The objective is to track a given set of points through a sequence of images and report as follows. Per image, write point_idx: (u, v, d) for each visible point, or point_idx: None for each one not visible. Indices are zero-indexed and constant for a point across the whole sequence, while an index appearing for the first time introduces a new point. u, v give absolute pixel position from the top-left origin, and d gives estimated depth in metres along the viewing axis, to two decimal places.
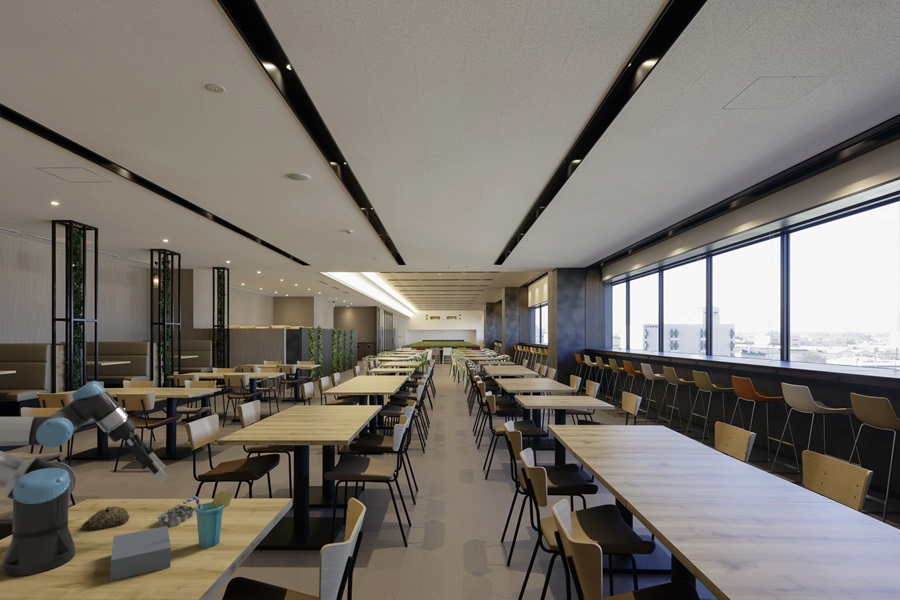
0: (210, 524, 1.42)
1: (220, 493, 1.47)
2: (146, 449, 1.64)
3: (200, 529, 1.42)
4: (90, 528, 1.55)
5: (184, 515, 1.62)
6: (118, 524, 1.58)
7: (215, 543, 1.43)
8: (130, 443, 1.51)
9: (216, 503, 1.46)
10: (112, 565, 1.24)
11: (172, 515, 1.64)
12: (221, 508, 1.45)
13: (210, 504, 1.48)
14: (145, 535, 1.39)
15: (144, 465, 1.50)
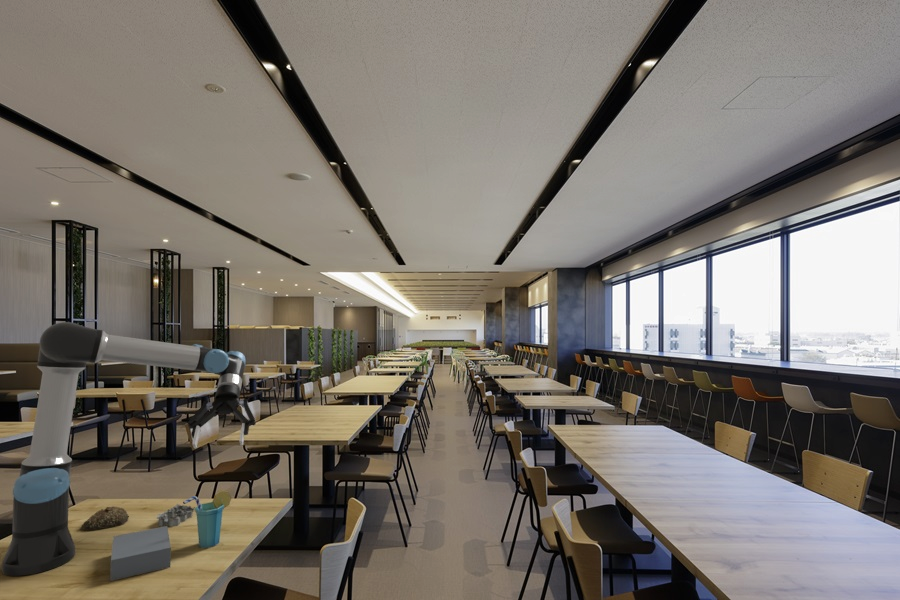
0: (210, 524, 1.42)
1: (220, 493, 1.47)
2: (204, 423, 1.62)
3: (200, 529, 1.42)
4: (89, 528, 1.55)
5: (184, 515, 1.62)
6: (117, 524, 1.58)
7: (215, 543, 1.43)
8: (247, 403, 1.69)
9: (216, 503, 1.46)
10: (112, 565, 1.24)
11: (171, 515, 1.64)
12: (221, 508, 1.45)
13: (210, 504, 1.48)
14: (145, 535, 1.39)
15: (254, 420, 1.64)
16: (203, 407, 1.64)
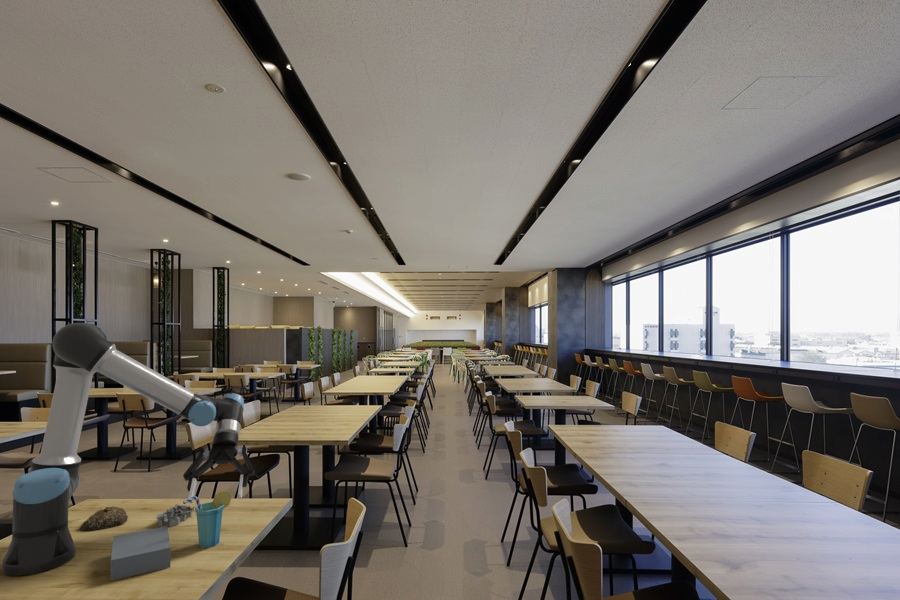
0: (210, 524, 1.42)
1: (220, 493, 1.47)
2: (200, 474, 1.54)
3: (200, 529, 1.42)
4: (89, 528, 1.55)
5: (183, 515, 1.62)
6: (117, 524, 1.58)
7: (215, 543, 1.43)
8: (246, 451, 1.61)
9: (216, 503, 1.46)
10: (112, 565, 1.24)
11: (171, 515, 1.64)
12: (221, 508, 1.45)
13: (210, 504, 1.48)
14: (145, 535, 1.39)
15: (253, 470, 1.56)
16: (200, 457, 1.56)
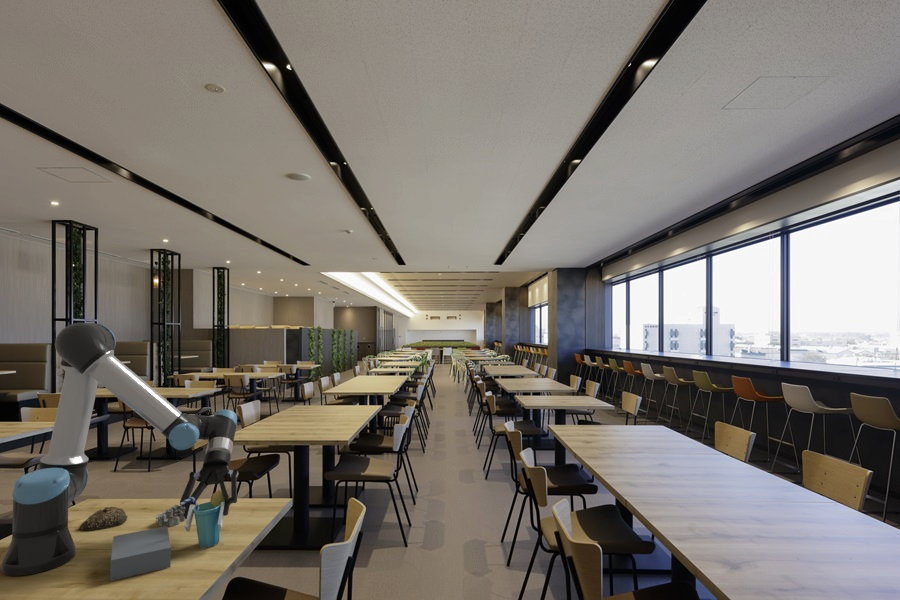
0: (209, 524, 1.42)
1: (217, 492, 1.47)
2: (196, 499, 1.47)
3: (199, 529, 1.42)
4: (88, 528, 1.55)
5: (183, 515, 1.62)
6: (116, 524, 1.58)
7: (215, 542, 1.43)
8: (237, 474, 1.53)
9: (214, 503, 1.46)
10: (112, 565, 1.24)
11: (170, 515, 1.64)
12: (219, 507, 1.45)
13: (208, 504, 1.48)
14: (145, 535, 1.39)
15: (235, 497, 1.47)
16: (191, 480, 1.49)
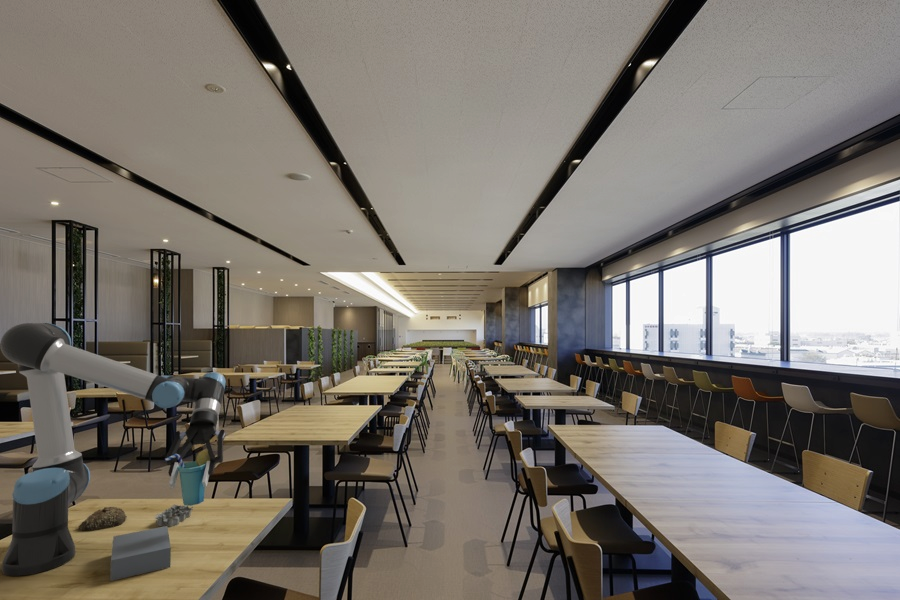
0: (193, 482, 1.40)
1: (203, 451, 1.45)
2: (182, 457, 1.45)
3: (183, 487, 1.40)
4: (87, 528, 1.55)
5: (182, 515, 1.62)
6: (115, 524, 1.58)
7: (199, 501, 1.42)
8: (223, 435, 1.52)
9: (199, 461, 1.44)
10: (112, 565, 1.24)
11: (169, 515, 1.64)
12: (204, 466, 1.43)
13: (193, 463, 1.46)
14: (145, 535, 1.39)
15: (221, 457, 1.46)
16: (177, 439, 1.47)
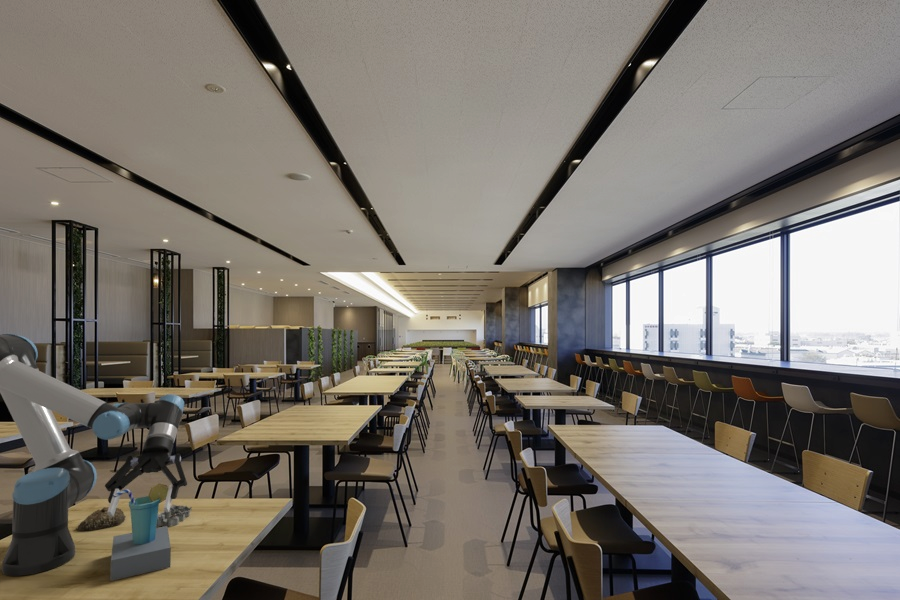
0: (144, 519, 1.33)
1: (157, 486, 1.38)
2: (126, 484, 1.38)
3: (133, 524, 1.33)
4: (86, 528, 1.55)
5: (182, 515, 1.62)
6: (114, 524, 1.58)
7: (150, 539, 1.34)
8: (180, 458, 1.45)
9: (152, 497, 1.37)
10: (112, 565, 1.24)
11: (168, 515, 1.64)
12: (157, 502, 1.36)
13: (146, 498, 1.39)
14: None
15: (185, 480, 1.40)
16: (126, 464, 1.41)
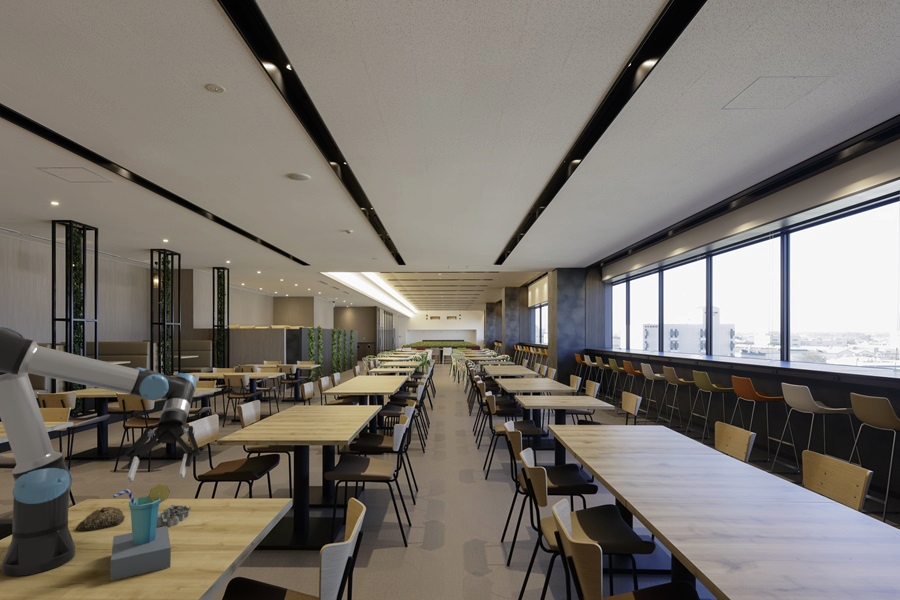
0: (144, 519, 1.33)
1: (157, 486, 1.38)
2: (143, 453, 1.50)
3: (133, 525, 1.33)
4: (85, 529, 1.55)
5: (181, 515, 1.62)
6: (113, 525, 1.58)
7: (150, 540, 1.34)
8: (193, 431, 1.57)
9: (152, 497, 1.37)
10: (112, 565, 1.24)
11: (167, 515, 1.64)
12: (157, 502, 1.36)
13: (147, 498, 1.39)
14: None
15: (198, 450, 1.52)
16: (144, 435, 1.53)
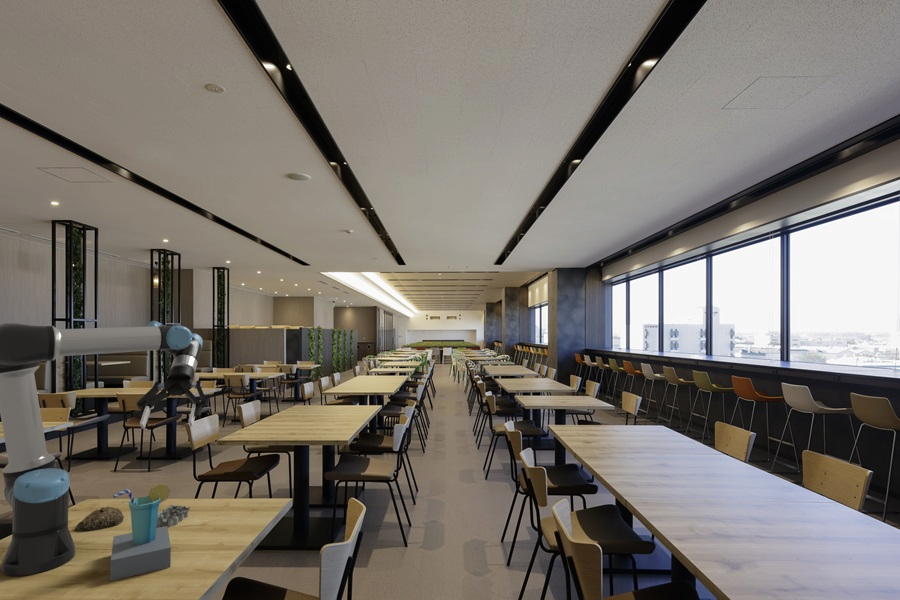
0: (144, 519, 1.33)
1: (157, 486, 1.38)
2: (154, 404, 1.59)
3: (133, 525, 1.33)
4: (84, 529, 1.55)
5: (181, 515, 1.62)
6: (112, 525, 1.58)
7: (150, 540, 1.34)
8: (200, 385, 1.66)
9: (152, 497, 1.37)
10: (112, 565, 1.24)
11: (167, 515, 1.64)
12: (157, 502, 1.36)
13: (147, 498, 1.39)
14: None
15: (206, 401, 1.61)
16: (154, 388, 1.61)
